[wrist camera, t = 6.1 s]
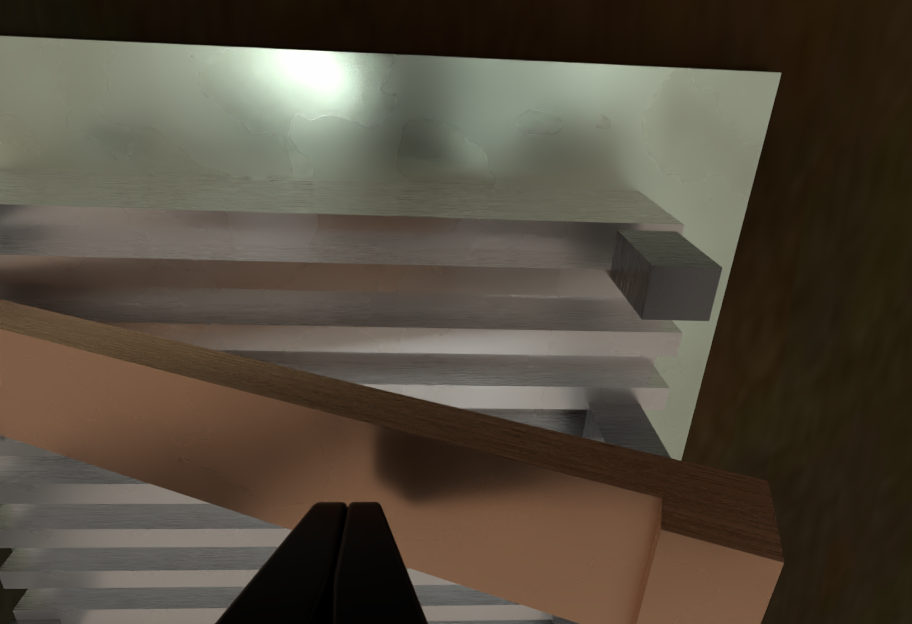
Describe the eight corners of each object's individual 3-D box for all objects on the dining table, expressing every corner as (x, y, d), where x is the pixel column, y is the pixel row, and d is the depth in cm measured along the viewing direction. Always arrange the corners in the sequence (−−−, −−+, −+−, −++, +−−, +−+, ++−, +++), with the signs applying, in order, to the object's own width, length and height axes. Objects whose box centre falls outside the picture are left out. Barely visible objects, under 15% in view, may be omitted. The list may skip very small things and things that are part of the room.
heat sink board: (66, 657, 23) (-60, 878, 17) (-159, 27, 14) (-619, 23, 8) (624, 649, 24) (688, 850, 18) (768, 71, 15) (998, 97, 9)
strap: (-58, 388, 13) (-131, 422, 11) (-106, 265, 11) (-192, 289, 10) (717, 627, 8) (723, 719, 7) (772, 468, 7) (789, 548, 6)
